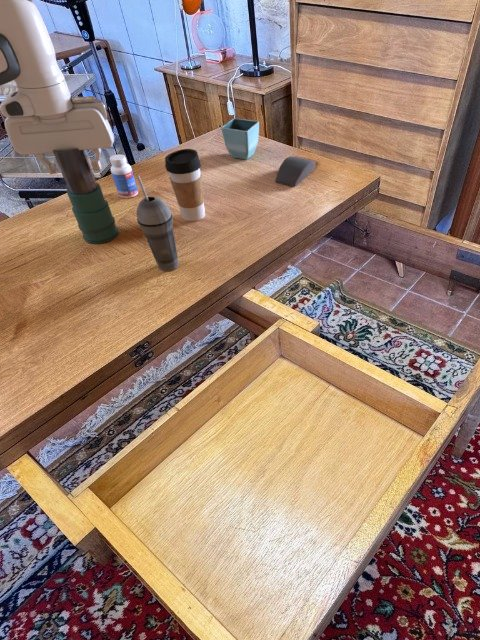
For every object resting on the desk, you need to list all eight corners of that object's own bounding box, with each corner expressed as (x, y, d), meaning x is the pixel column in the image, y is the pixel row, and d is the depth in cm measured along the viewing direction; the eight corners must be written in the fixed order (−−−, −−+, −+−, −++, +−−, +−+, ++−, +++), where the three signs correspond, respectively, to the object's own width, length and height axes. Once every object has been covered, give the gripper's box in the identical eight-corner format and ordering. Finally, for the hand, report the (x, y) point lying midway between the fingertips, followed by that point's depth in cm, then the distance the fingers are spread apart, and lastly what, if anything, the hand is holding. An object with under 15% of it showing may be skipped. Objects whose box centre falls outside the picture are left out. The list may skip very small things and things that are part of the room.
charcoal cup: (67, 196, 99) (48, 153, 92) (71, 183, 103) (54, 141, 96) (95, 193, 99) (79, 150, 93) (99, 181, 103) (83, 139, 96)
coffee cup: (215, 217, 114) (205, 156, 103) (185, 227, 112) (171, 165, 100) (201, 204, 119) (189, 144, 107) (172, 214, 116) (157, 153, 104)
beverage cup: (174, 277, 98) (148, 186, 82) (146, 271, 100) (116, 181, 84) (190, 260, 102) (169, 170, 87) (163, 254, 104) (137, 165, 88)
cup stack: (81, 245, 107) (60, 199, 98) (86, 227, 112) (67, 181, 103) (117, 242, 108) (100, 195, 99) (120, 224, 113) (104, 178, 104)
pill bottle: (134, 199, 122) (122, 162, 114) (115, 198, 122) (103, 161, 115) (141, 190, 125) (130, 153, 118) (123, 189, 126) (111, 152, 118)
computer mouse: (318, 169, 132) (319, 154, 129) (296, 188, 124) (296, 173, 121) (295, 164, 134) (294, 150, 131) (272, 182, 127) (271, 167, 124)
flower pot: (262, 152, 140) (259, 120, 133) (250, 163, 135) (247, 131, 128) (237, 149, 143) (233, 117, 136) (224, 159, 137) (220, 127, 130)
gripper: (103, 90, 90) (125, 161, 101) (-1, 97, 89) (32, 169, 99) (99, 100, 87) (122, 173, 97) (-10, 108, 85) (26, 181, 95)
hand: (76, 171), depth 98 cm, fingers open, 8 cm apart
